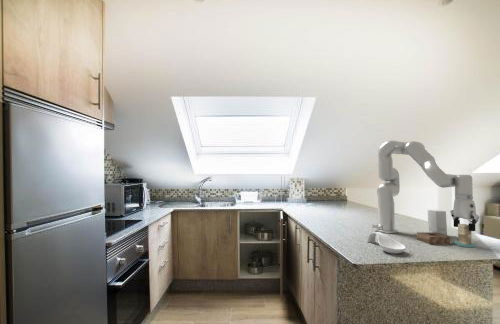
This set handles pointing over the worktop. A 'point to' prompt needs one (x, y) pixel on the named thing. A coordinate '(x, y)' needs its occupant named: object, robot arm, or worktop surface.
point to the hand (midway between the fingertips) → (464, 228)
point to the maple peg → (464, 234)
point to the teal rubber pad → (464, 244)
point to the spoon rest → (387, 243)
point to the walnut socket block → (433, 238)
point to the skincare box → (437, 221)
